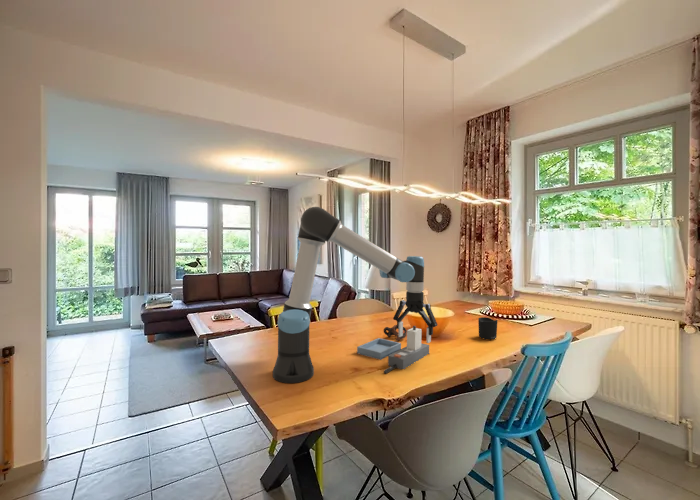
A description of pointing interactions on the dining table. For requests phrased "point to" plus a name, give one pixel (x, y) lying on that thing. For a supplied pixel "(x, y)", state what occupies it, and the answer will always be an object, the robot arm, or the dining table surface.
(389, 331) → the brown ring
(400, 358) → the power strip
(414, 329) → the charger
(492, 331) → the pen holder
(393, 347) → the tray
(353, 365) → the dining table surface
